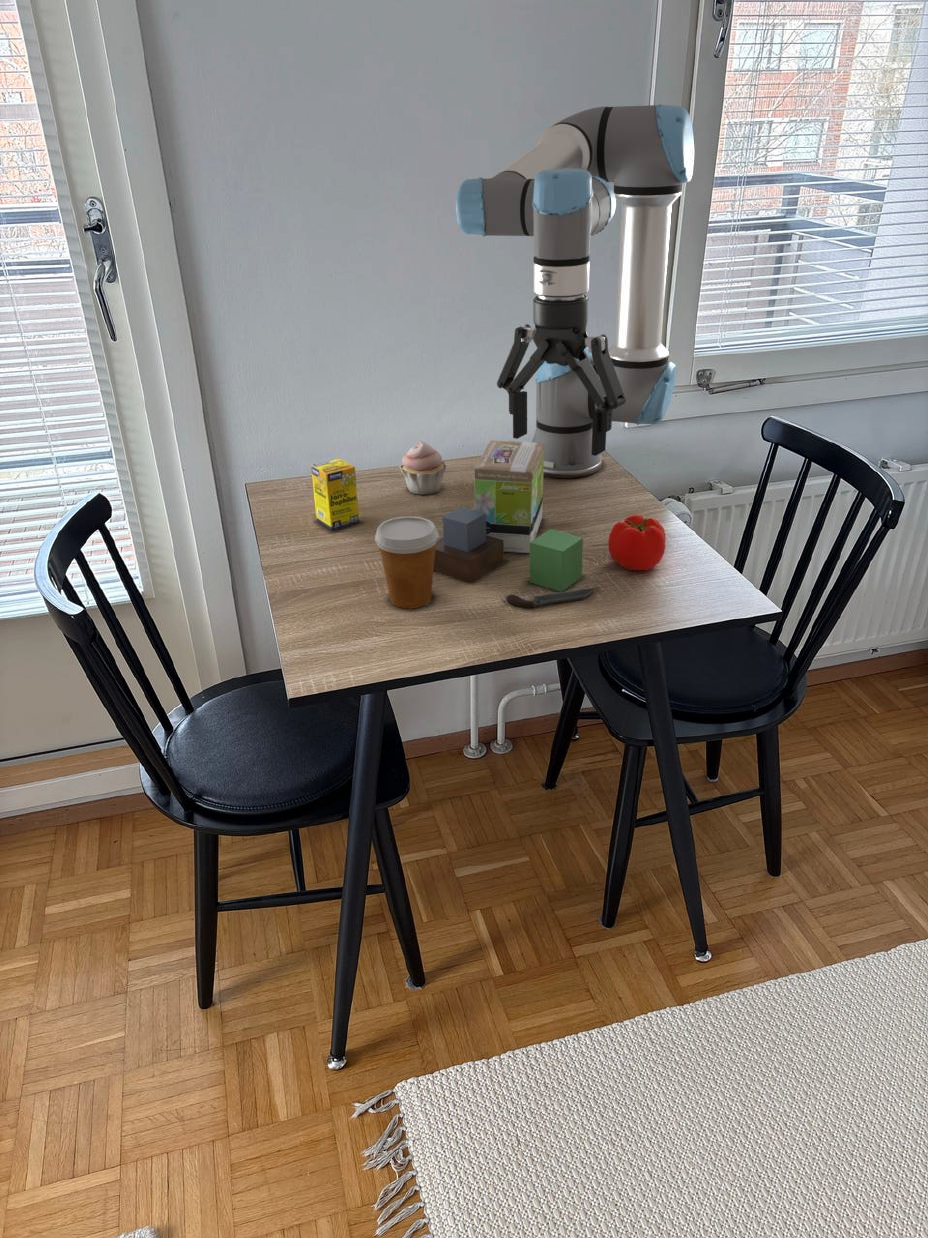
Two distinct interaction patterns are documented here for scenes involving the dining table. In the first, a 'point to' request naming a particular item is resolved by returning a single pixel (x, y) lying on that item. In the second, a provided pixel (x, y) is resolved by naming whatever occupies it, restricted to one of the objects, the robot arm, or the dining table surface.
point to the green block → (556, 560)
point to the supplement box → (335, 494)
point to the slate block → (464, 529)
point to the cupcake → (423, 469)
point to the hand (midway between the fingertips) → (558, 444)
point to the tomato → (637, 543)
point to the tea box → (511, 492)
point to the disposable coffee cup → (408, 559)
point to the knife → (550, 598)
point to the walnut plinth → (468, 559)
